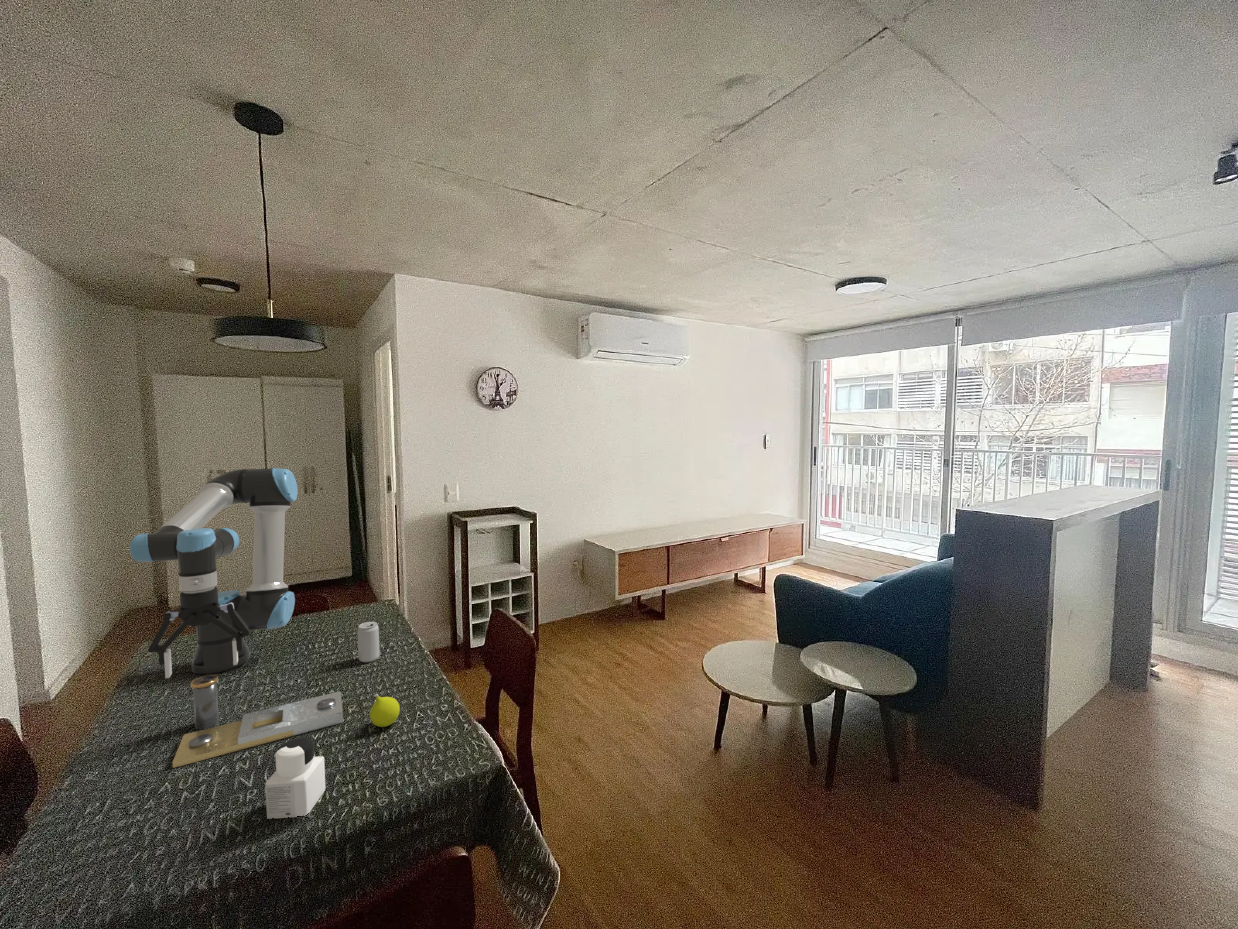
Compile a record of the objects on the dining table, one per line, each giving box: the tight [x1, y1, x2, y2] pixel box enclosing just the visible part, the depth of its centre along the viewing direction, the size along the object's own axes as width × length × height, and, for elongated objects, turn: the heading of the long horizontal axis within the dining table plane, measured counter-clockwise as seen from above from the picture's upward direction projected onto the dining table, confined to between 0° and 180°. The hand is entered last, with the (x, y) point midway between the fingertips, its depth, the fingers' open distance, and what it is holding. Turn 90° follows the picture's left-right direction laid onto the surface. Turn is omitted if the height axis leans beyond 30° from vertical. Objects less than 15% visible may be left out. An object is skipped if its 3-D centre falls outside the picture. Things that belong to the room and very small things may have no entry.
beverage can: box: [356, 621, 381, 663], centre depth 168 cm, size 6×6×12 cm
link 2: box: [238, 690, 344, 744], centre depth 131 cm, size 12×22×4 cm, turn 122°
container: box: [265, 736, 326, 820], centre depth 103 cm, size 8×8×13 cm
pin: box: [189, 674, 220, 730], centre depth 131 cm, size 6×6×12 cm
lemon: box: [369, 693, 401, 728], centre depth 131 cm, size 7×7×10 cm
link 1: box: [172, 715, 295, 768], centre depth 125 cm, size 12×23×2 cm, turn 122°
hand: (203, 669), depth 130 cm, fingers open, 13 cm apart
